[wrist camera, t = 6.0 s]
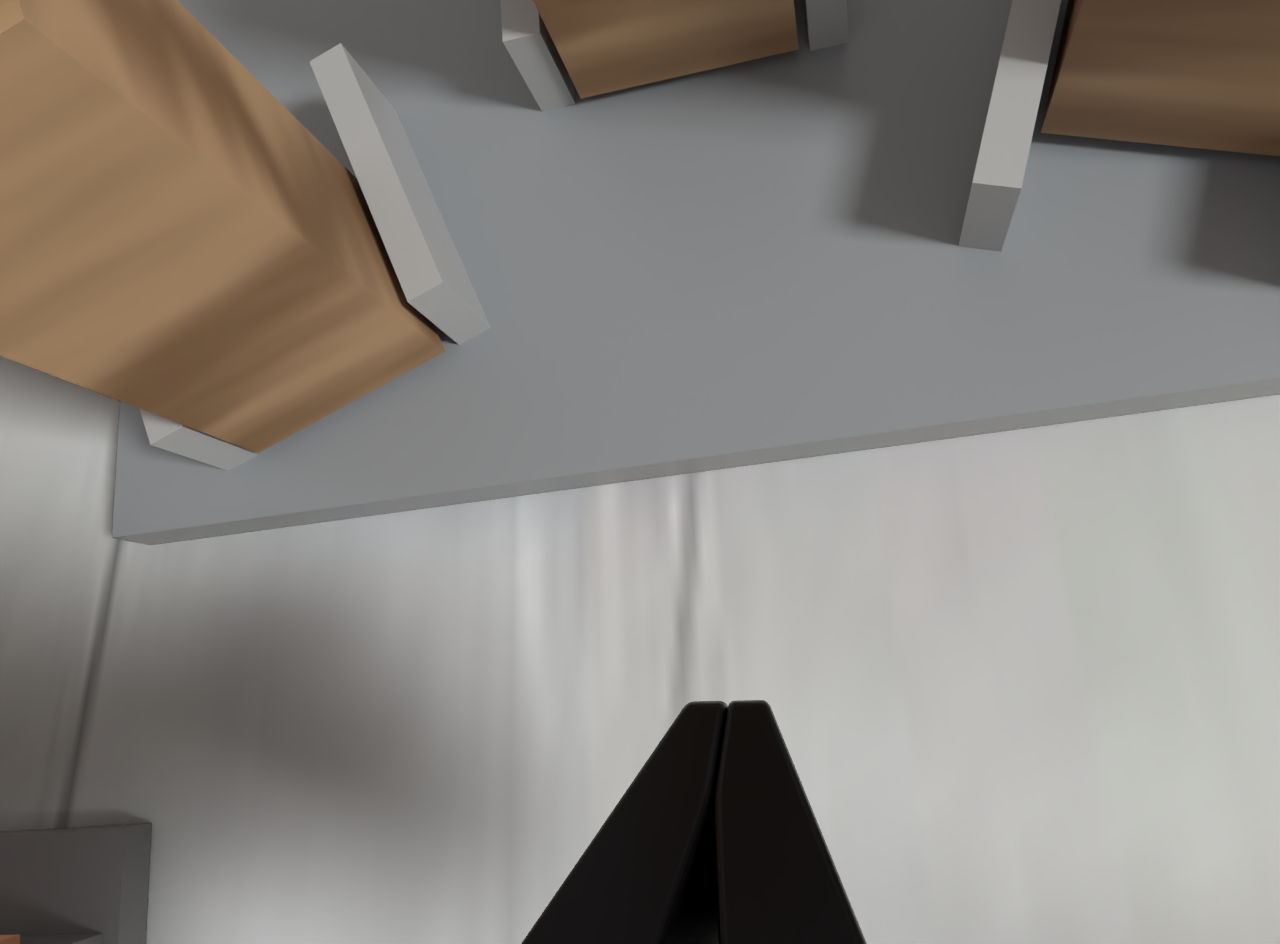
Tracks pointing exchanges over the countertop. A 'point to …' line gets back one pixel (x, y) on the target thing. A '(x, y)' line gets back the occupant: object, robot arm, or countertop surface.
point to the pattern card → (75, 885)
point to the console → (726, 257)
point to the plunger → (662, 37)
